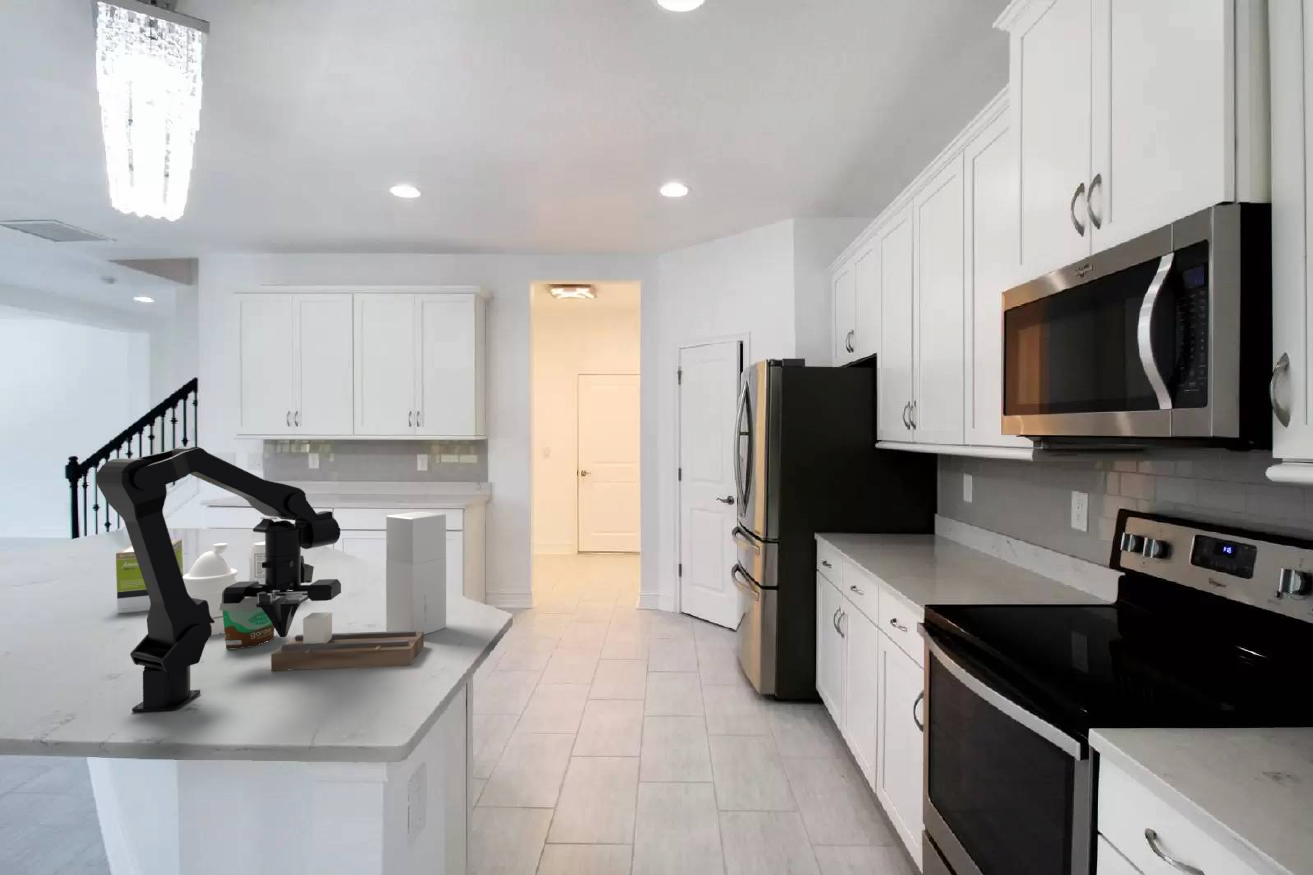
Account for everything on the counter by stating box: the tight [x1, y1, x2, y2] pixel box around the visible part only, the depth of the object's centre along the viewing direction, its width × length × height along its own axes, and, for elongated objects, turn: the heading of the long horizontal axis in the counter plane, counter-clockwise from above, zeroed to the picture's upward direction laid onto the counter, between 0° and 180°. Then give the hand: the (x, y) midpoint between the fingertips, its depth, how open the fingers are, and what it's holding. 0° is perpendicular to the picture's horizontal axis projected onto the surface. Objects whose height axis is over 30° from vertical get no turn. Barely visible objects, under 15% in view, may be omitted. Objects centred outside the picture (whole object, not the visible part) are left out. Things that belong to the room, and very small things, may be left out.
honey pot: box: [183, 542, 239, 636], centre depth 137 cm, size 13×13×18 cm
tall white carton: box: [385, 511, 447, 636], centre depth 136 cm, size 9×9×25 cm
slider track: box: [270, 630, 425, 672], centre depth 119 cm, size 10×24×4 cm, turn 97°
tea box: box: [115, 538, 184, 614], centre depth 156 cm, size 15×10×15 cm
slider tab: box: [302, 611, 333, 644], centre depth 118 cm, size 4×4×5 cm
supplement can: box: [248, 540, 289, 591], centre depth 157 cm, size 8×8×15 cm
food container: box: [219, 590, 277, 649], centre depth 128 cm, size 12×6×10 cm, turn 168°
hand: (283, 636), depth 118 cm, fingers closed
